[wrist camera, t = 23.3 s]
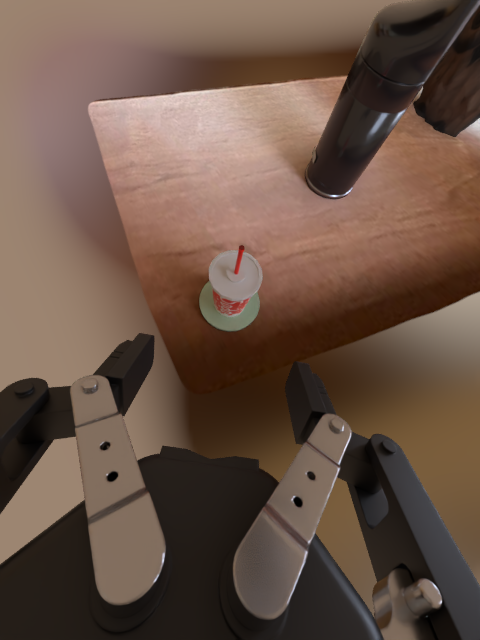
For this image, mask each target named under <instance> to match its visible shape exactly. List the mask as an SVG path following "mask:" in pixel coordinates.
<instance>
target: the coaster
mask: <svg viewBox="0 0 480 640" xmlns="http://www.w3.org/2000/svg"><path fill="white" fill-rule="evenodd" d="M259 305H260V304H259V296H258V293H257V292H256V293H255V294H254V295H253V296H252V297H251V298H250V300H249V301H248V303H247V305H246V306H245V308H244V309H243V311H242V312H241V313H240V314H239V315H237V316H234V317H226V316H223V315H221V314H220V313H219V312H218V311H217V310H216V308H215V306H214V298H213V290H212V286H211V284H210V282H209V281H208V282H207V283H206V284H205V286H204V287H203V289H202V291H201V293H200V298H199V306H200V310H201V313H202V315H203V317H204V318H205V320H206V321H207V322H208V323H209V324H210V325H212V326H213V327H215V328H217V329H219V330H222V331H238V330H241V329H243V328H245V327H247V326H248V325H250V324H251V323H252V322H253V320H254V319H255V317H256V316H257V313H258V311H259Z"/></svg>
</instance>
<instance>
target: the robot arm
mask: <svg viewBox="0 0 480 640" xmlns="http://www.w3.org/2000/svg"><path fill="white" fill-rule="evenodd" d="M479 7H480V0H412V1H405V2H398V3H393V4H390V5H388V6H386V7H384V8H383V9H381V10H380V11H379V12H378V13H377V14H376V16H375V17H374V19H373V20H372V22H371V24H370V26H369V28H368V30H367V33H366V35H365V37H364V40H363V42H362V44H361V47H360V49H359V51H358V54H357V56H356V58H355V61H354V63H353V65H352V68H351V70H350V72H349V74H348V77H347V79H346V81H345V84H344V86H343V88H342V91H341V93H340V95H339V97H338V100H337V102H336V104H335V106H334V109H333V111H332V113H331V116H330V118H329V120H328V122H327V125H326V127H325V129H324V131H323V134H322V136H321V138H320V141H319V143H318V145H317V147H316V150H315V147H314V150H313V152H312V159H311V161H310V163H309V165H308V166H307V169H306V172H305V178H306V181H307V183H308V185H309V186H310V188H311V189H312V190H313V191H314V192H316V193H317V194H319V195H321V196H323V197H326V198H330V199H339V198H342V197H345V196H346V195H347V194H348V193H349V192H350V191H351V189H352V188H353V186H354V184H355V183H356V181H357V180H358V178H359V177H360V176H361V174H362V173H363V171H364V170H365V169H366V167H367V166H368V164H369V163H370V161H371V160H372V159H373V157H374V156H375V154H376V153H377V151H378V150H379V148H380V147H381V146H382V144H383V143H384V141H385V140H386V138H387V137H388V136H389V134H390V133H391V131H392V130H393V128H394V127H395V125H396V124H397V123H398V121H399V120H400V118H401V117H402V115H403V114H404V113H405V111H406V110H407V108H408V107H409V105H410V104H411V102H412V101H413V99H414V98H415V97H416V95H417V94H418V92H419V91H420V89H421V88H422V86H423V85H424V84H425V82H426V81H427V79H428V78H429V77H430V75H431V74H432V72H433V71H434V69H435V68H436V67H437V65H438V64H439V62H440V61H441V59H442V58H443V57H444V55H445V54H446V53H447V51H448V50H449V49H450V47H451V46H452V44H453V43H454V42H455V40H456V39H457V37H458V36H459V35H460V33H461V32H462V30H463V29H464V28H465V26H466V25H467V23H468V22H469V20H470V19H471V18H472V16H473V15H474V13H475V12H476V11H477V9H478V8H479ZM153 359H154V336H153V335H148V334H142V333H139V334H138V335H137V336H136V338H135V339H134V340H133V341H129V340H127V341H125V342H123V343H121V344H120V345H119V346H118V347H117V348H116V349H115V350H114V352H112V353H111V355H110V356H109V357H108V358H107V359H106V360H105V361H104V363H103V364H102V365H101V366H100V367H99V368H98V370H97V371H96V372H95V373H94V374H93V375H90V376H86V377H83V378H80V379H78V380H77V381H76V382H74V383H73V384H72V386H65V387H52V388H48V384H47V382H46V381H45V380H43V379H39V378H29V379H23V380H20V381H17V382H15V383H12V384H11V385H9V386H8V387H6V388H5V389H4V390H3V391H2V392H0V514H1V512H2V511H3V510H4V508H5V507H6V505H7V504H8V503H9V501H10V500H11V499H12V497H13V496H14V494H15V493H16V491H17V490H18V489H19V487H20V486H21V485H22V483H23V482H24V481H25V479H26V478H27V476H28V475H29V474H30V472H31V471H32V469H33V468H34V467H35V465H36V464H37V463H38V461H39V460H40V458H41V457H42V456H43V454H44V453H45V451H46V450H47V449H48V447H49V446H50V445H51V443H52V442H53V440H54V439H61V438H68V437H75V436H76V440H77V447H78V455H79V462H80V469H81V476H82V483H83V491H84V498H85V500H84V501H82V502H81V503H80V504H78V505H77V506H76V507H74V508H73V509H72V510H71V511H69V512H68V513H67V514H65V515H64V516H63V517H61V518H60V519H59V520H58V521H56V522H55V523H54V524H52V525H51V526H50V527H48V528H47V529H46V530H44V531H43V532H42V533H41V534H39V535H38V536H37V537H35V538H34V539H33V540H31V541H30V542H29V543H28V544H26V545H25V546H24V547H22V548H21V549H20V550H19V551H17V552H16V553H14V554H13V555H12V556H11V557H9V558H8V559H7V560H5V561H4V562H3V563H1V564H0V640H480V585H479V584H478V582H477V580H476V578H475V577H474V575H473V573H472V571H471V570H470V568H469V566H468V564H467V563H466V561H465V559H464V557H463V556H462V554H461V552H460V550H459V549H458V547H457V545H456V543H455V542H454V540H453V538H452V537H451V535H450V533H449V531H448V529H447V528H446V526H445V524H444V522H443V520H442V519H441V517H440V516H439V513H438V512H437V510H436V508H435V507H434V505H433V503H432V501H431V500H430V498H429V496H428V494H427V492H426V491H425V489H424V487H423V486H422V484H421V482H420V480H419V478H418V477H417V475H416V473H415V471H414V470H413V468H412V466H411V464H410V463H409V461H408V459H407V457H406V456H405V454H404V452H403V451H402V449H401V448H400V446H399V445H398V444H397V443H395V442H394V441H393V440H392V439H390V438H389V437H386V436H384V435H382V434H374V435H372V437H371V438H370V439H367V438H365V437H362V436H360V435H358V434H356V433H354V432H352V431H351V428H350V426H349V425H348V423H347V422H346V421H345V420H343V419H342V418H340V417H339V416H337V415H336V413H335V410H334V408H333V405H332V403H331V401H330V398H329V397H328V395H327V391H326V389H325V386H324V384H323V382H322V380H321V379H320V378H319V377H318V376H317V374H314V373H312V371H311V369H310V366H309V364H307V363H301V362H296V361H295V362H294V363H293V366H292V368H291V371H290V373H289V376H288V379H287V381H286V386H285V392H286V397H287V402H288V407H289V412H290V417H291V422H292V426H293V431H294V436H295V441H296V444H302V445H303V446H302V448H301V449H300V451H299V452H298V454H297V456H296V457H295V459H294V460H293V462H292V464H291V465H290V467H289V468H288V470H287V471H286V473H285V475H284V476H283V478H282V479H281V481H280V483H279V482H278V481H277V480H276V479H275V478H274V477H273V476H271V475H270V474H269V473H267V472H265V471H264V470H262V469H260V468H259V461H258V460H257V459H250V458H243V457H237V456H234V457H226V458H217V459H209V458H206V457H204V456H201V455H199V454H197V453H195V452H192V451H190V450H188V449H182V448H176V447H168V446H162V449H161V452H160V454H154V455H150V456H147V457H144V458H142V459H140V460H138V461H137V459H136V456H135V453H134V450H133V447H132V444H131V441H130V438H129V435H128V432H127V429H126V426H125V422H124V419H123V416H125V414H126V412H127V410H128V408H129V407H130V405H131V403H132V401H133V400H134V398H135V396H136V394H137V392H138V391H139V389H140V387H141V385H142V383H143V382H144V380H145V378H146V376H147V375H148V372H149V371H150V369H151V367H152V364H153ZM337 477H338V478H340V479H342V480H344V481H346V482H347V484H348V487H349V491H350V494H351V498H352V501H353V504H354V507H355V510H356V514H357V517H358V520H359V523H360V527H361V530H362V533H363V537H364V540H365V543H366V547H367V550H368V553H369V556H370V559H371V563H372V566H373V569H374V573H375V576H376V579H377V583H376V585H375V586H374V588H373V595H372V597H373V605H374V611H375V613H374V616H375V619H374V617H373V615H372V613H371V612H370V610H369V609H368V607H367V605H366V604H365V602H364V601H363V600H362V598H361V597H360V595H359V594H358V593H357V591H356V590H355V589H354V587H353V586H352V584H351V583H350V581H349V580H348V578H347V577H346V576H345V574H344V573H343V572H342V570H341V569H340V567H339V566H338V564H337V563H336V562H335V560H334V559H333V557H332V556H331V555H330V553H329V552H328V550H327V549H326V547H325V546H324V545H323V543H322V542H321V541H320V539H319V538H318V536H317V535H316V533H315V531H316V528H317V526H318V524H319V521H320V519H321V516H322V514H323V511H324V509H325V506H326V503H327V501H328V498H329V496H330V494H331V491H332V489H333V486H334V483H335V481H336V478H337Z"/></svg>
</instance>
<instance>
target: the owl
mask: <svg viewBox="0 0 480 640" xmlns="http://www.w3.org/2000/svg"><path fill="white" fill-rule="evenodd" d="M413 104H414V106H415V107H414V108H415V110H416V113H417V114H418V115H419V116H421V117H423V118H425V121H426V122H427V123H429V124H431V125H432V126H434V127H433V128H434V129H435V130H438V131H440V132H442V133H447V134H449V135H452V136H454V137H456V136H457V135H458V134H459V133H460V132H461V131H462V130H464V129H466V128H467V127H468V126H469V125H471V124H472V123H474V122H475V121H476V120H477V119H478V118H480V7H479V8H478V9H477V11H476V12H475V13H474V15H473V16H472V18H471V19H470V20H469V22H468V23H467V25H466V26H465V28H464V29H463V30H462V32H461V33H460V35H459V36H458V37H457V39H456V40H455V42H454V43H453V44H452V46H451V47H450V49H449V50H448V52H447V54H446V55H445V56H444V58H443V59H442V60H441V61H440V62H439V64H438V65H437V67H436V68H435V69H434V71H433V72H432V74H431V75H430V77H429V78H428V79H427V81H426V82H425V84H424V85H423V90H422V93H421V96H420V98H419V99H418V100H417V101H415V102H414V103H413Z"/></svg>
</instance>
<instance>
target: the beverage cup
mask: <svg viewBox="0 0 480 640" xmlns="http://www.w3.org/2000/svg"><path fill="white" fill-rule="evenodd" d="M243 251H244V246H242V245H241V246H239V250H228V251H226V252H223V253H220V254H219V255H218V256H217V257H216V258H214V259H213V260H212V263H211V265H210V267H209V282H210V284H211V286H212V290H213V298H214V306H215V308H216V310H217V311H218V312H219V313H220V314H221V315H223V316H226V317H234V316H237V315H239V314H240V313H241V312H242V311H243V309H244V308H245V306H246V305H247V303H248V301H249V300H250V298H251V297H252V296H253V295H254V294H255V293H256V292H257V291H258V289H259V288H260V285H261V282H262V279H263V277H262V269H261V267H260V265H259V263H258V261H257V260H256V259H255V258H254V257H252V256H251V255H250V254H248V253H245V252H243Z"/></svg>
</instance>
